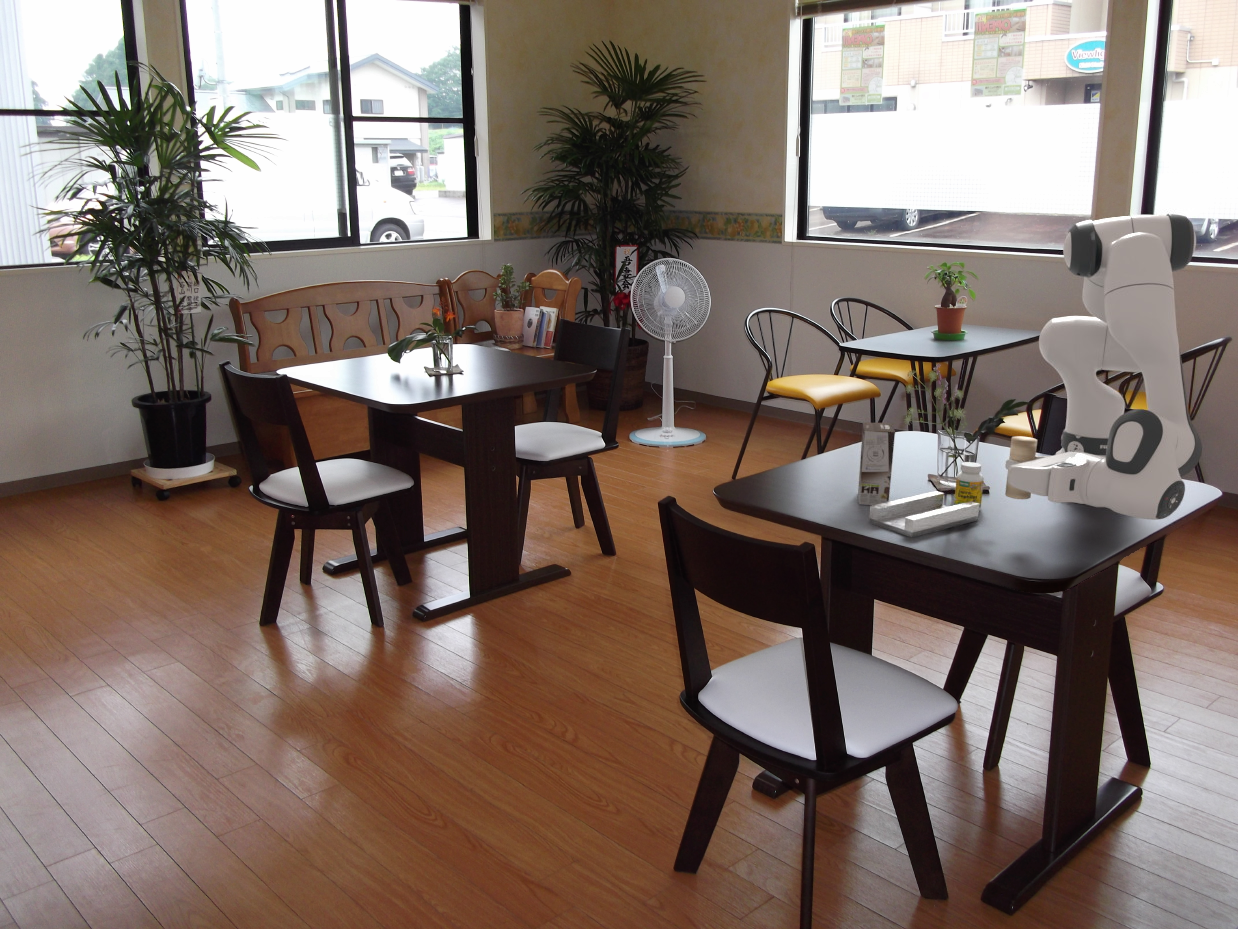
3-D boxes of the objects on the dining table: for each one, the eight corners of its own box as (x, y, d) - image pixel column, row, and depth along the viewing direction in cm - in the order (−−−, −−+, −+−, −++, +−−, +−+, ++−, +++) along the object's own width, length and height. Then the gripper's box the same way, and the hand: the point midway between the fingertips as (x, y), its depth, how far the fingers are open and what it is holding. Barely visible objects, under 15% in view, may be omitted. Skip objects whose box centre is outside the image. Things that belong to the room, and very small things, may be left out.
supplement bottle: (981, 506, 223) (985, 462, 221) (979, 513, 218) (984, 468, 216) (954, 503, 225) (959, 459, 223) (952, 510, 220) (957, 465, 218)
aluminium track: (934, 506, 222) (935, 490, 222) (977, 520, 214) (979, 503, 213) (869, 522, 211) (870, 505, 210) (912, 537, 203) (913, 520, 202)
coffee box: (889, 507, 222) (895, 432, 218) (857, 504, 223) (863, 430, 219) (887, 495, 231) (893, 422, 226) (857, 493, 232) (862, 420, 228)
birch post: (1014, 491, 203) (1021, 435, 200) (1035, 496, 199) (1042, 440, 196) (1000, 494, 200) (1006, 438, 198) (1021, 500, 197) (1027, 443, 194)
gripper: (1120, 453, 193) (1052, 437, 204) (1054, 469, 182) (985, 452, 192) (1115, 486, 195) (1048, 469, 205) (1049, 504, 183) (982, 485, 194)
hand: (1017, 461), depth 199 cm, fingers closed on birch post, 4 cm apart
